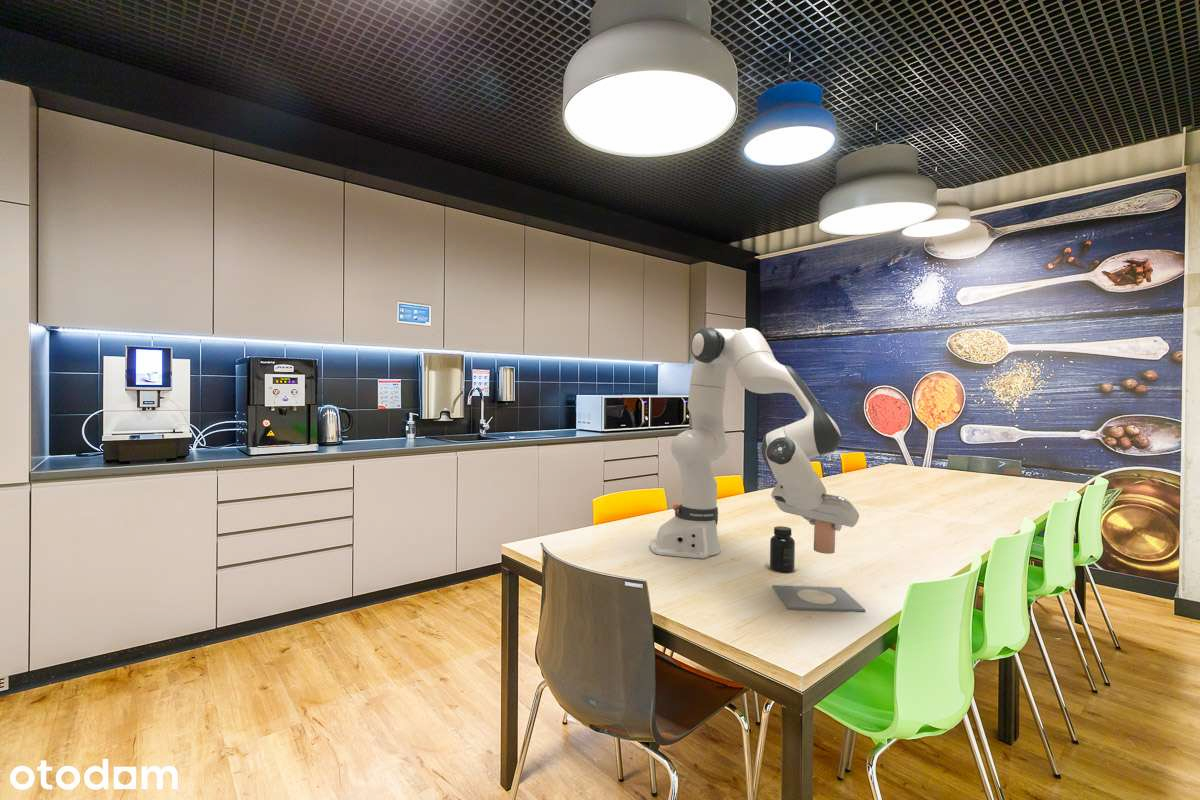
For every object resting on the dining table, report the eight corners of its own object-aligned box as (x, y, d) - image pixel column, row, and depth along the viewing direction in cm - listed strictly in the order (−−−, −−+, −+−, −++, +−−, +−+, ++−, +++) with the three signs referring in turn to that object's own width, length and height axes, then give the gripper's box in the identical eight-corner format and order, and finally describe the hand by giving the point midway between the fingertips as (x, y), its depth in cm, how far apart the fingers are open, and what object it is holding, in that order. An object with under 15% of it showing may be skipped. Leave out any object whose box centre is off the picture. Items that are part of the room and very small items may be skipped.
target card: (788, 609, 130) (788, 606, 130) (772, 587, 144) (772, 584, 144) (865, 612, 130) (865, 609, 130) (841, 589, 144) (841, 587, 144)
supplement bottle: (794, 566, 161) (795, 526, 161) (794, 574, 155) (795, 532, 154) (769, 563, 163) (771, 524, 163) (768, 571, 157) (770, 529, 157)
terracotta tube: (815, 552, 138) (816, 505, 138) (812, 547, 143) (813, 501, 143) (836, 554, 137) (838, 506, 137) (832, 548, 142) (833, 502, 142)
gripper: (852, 488, 127) (871, 524, 133) (775, 475, 143) (796, 508, 149) (841, 510, 124) (861, 545, 131) (765, 494, 141) (786, 526, 147)
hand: (826, 525), depth 140 cm, fingers closed on terracotta tube, 5 cm apart
